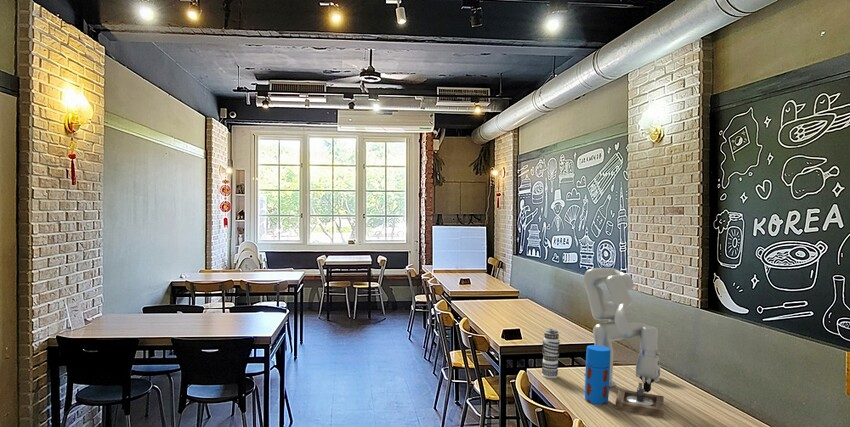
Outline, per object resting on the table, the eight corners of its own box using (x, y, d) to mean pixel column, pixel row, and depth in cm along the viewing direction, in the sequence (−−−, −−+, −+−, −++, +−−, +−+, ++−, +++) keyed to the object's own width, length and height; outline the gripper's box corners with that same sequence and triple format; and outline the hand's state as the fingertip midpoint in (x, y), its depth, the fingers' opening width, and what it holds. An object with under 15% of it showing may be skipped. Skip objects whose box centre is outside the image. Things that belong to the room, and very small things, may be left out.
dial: (653, 409, 243) (654, 395, 243) (626, 404, 247) (626, 391, 247) (652, 397, 258) (653, 384, 258) (627, 393, 262) (627, 381, 262)
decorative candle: (561, 375, 292) (563, 329, 291) (553, 379, 285) (555, 332, 284) (546, 371, 298) (548, 326, 297) (537, 375, 291) (539, 329, 290)
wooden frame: (615, 409, 245) (615, 401, 245) (618, 395, 264) (618, 388, 264) (663, 417, 237) (663, 410, 237) (663, 402, 256) (663, 395, 256)
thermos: (596, 406, 248) (598, 352, 248) (579, 398, 258) (581, 346, 257) (613, 402, 253) (615, 349, 253) (596, 395, 263) (598, 344, 262)
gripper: (667, 354, 253) (666, 393, 253) (635, 348, 263) (633, 385, 263) (662, 357, 247) (660, 397, 247) (629, 351, 257) (628, 389, 257)
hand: (646, 391), depth 255 cm, fingers closed
